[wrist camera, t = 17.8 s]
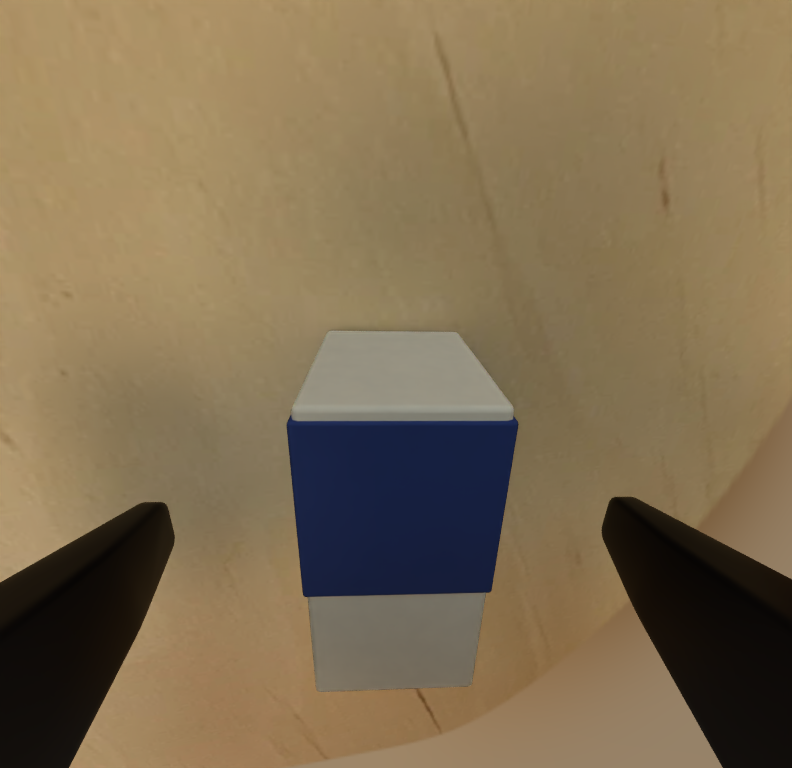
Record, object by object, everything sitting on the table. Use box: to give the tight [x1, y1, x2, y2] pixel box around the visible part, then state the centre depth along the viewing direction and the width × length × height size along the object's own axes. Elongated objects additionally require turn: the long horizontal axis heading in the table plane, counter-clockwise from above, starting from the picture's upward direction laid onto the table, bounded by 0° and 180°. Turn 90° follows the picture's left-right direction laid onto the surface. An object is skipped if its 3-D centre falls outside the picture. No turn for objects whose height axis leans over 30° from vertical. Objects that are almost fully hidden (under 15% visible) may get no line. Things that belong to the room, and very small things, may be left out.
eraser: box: [287, 331, 518, 692], centre depth 8 cm, size 6×3×4 cm, turn 179°
